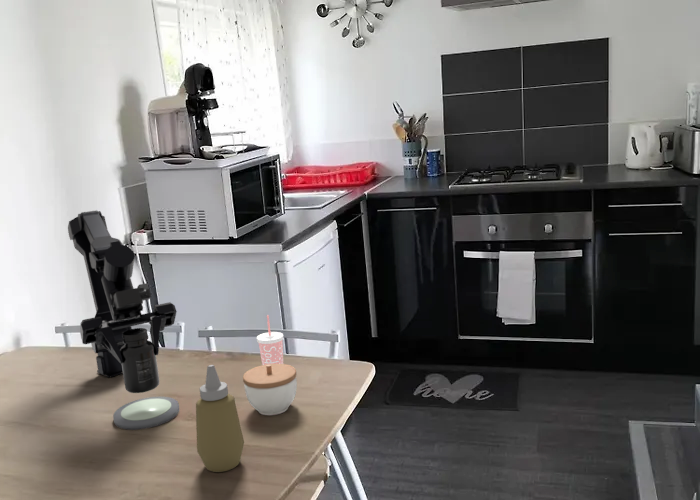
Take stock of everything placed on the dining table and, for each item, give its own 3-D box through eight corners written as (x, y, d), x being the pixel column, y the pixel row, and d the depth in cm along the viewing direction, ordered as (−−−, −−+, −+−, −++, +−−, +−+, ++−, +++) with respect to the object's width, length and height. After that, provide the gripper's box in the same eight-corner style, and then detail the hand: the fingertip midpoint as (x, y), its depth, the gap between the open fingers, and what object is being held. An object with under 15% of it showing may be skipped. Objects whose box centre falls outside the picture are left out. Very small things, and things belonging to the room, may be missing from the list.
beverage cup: (255, 376, 157) (249, 318, 154) (268, 367, 162) (262, 310, 160) (279, 379, 155) (272, 319, 152) (291, 369, 160) (285, 311, 157)
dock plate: (158, 396, 150) (157, 390, 149) (191, 411, 141) (191, 404, 141) (102, 418, 141) (101, 412, 140) (134, 435, 132) (133, 429, 131)
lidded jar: (308, 410, 137) (304, 366, 135) (259, 425, 132) (254, 380, 130) (285, 393, 146) (281, 352, 144) (238, 407, 141) (233, 364, 139)
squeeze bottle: (202, 455, 122) (190, 360, 118) (247, 450, 122) (236, 355, 119) (196, 479, 114) (182, 377, 110) (244, 473, 115) (233, 372, 111)
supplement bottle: (163, 379, 143) (156, 324, 141) (155, 392, 136) (148, 335, 134) (130, 382, 143) (122, 327, 140) (120, 395, 136) (112, 338, 134)
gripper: (73, 281, 134) (92, 350, 127) (168, 264, 143) (190, 328, 136) (73, 310, 142) (90, 376, 135) (163, 293, 151) (183, 354, 144)
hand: (139, 358), depth 137 cm, fingers closed on supplement bottle, 7 cm apart
